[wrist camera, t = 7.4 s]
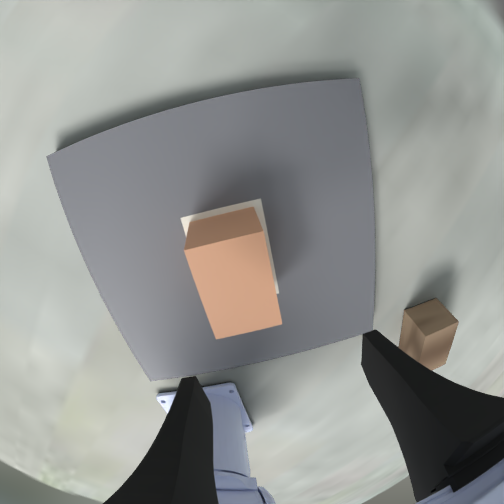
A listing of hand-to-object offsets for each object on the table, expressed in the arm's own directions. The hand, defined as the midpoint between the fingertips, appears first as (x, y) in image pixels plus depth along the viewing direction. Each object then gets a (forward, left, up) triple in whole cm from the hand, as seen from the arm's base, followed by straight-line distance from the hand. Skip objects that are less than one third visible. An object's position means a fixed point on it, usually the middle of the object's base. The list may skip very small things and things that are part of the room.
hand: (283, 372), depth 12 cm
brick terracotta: (+1, +1, -9) cm, 9 cm away
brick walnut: (-12, -15, -10) cm, 22 cm away
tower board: (+1, +1, -10) cm, 10 cm away
